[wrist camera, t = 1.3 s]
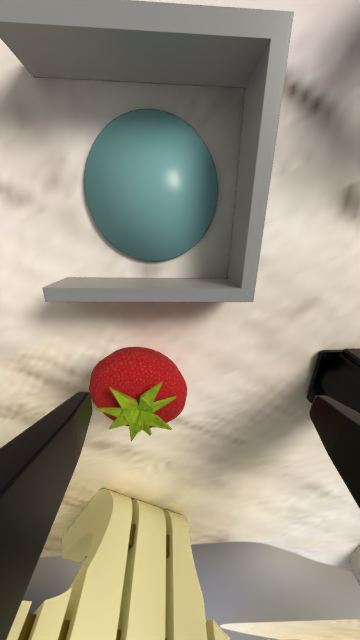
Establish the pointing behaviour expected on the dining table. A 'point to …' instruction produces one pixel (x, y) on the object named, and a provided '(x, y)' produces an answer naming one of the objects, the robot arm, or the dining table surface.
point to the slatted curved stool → (124, 579)
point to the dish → (356, 564)
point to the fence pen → (163, 130)
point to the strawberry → (138, 389)
